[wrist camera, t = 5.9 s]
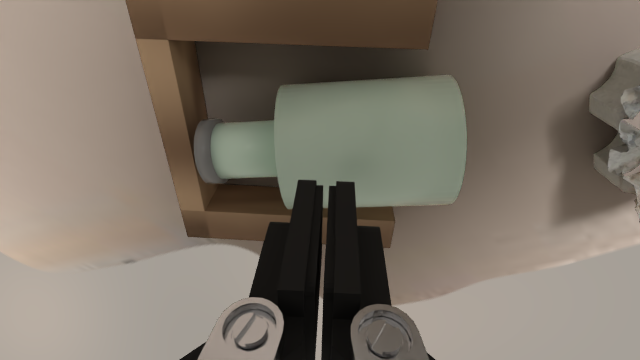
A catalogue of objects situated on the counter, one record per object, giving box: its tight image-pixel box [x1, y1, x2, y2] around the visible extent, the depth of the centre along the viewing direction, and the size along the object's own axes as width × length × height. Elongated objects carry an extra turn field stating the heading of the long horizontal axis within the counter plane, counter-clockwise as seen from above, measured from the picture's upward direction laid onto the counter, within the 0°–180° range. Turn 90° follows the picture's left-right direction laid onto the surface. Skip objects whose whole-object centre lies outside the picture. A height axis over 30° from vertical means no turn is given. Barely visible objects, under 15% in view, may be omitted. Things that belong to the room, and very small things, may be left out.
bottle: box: [194, 75, 467, 209], centre depth 14 cm, size 5×5×10 cm
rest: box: [126, 0, 438, 248], centre depth 15 cm, size 12×11×2 cm
